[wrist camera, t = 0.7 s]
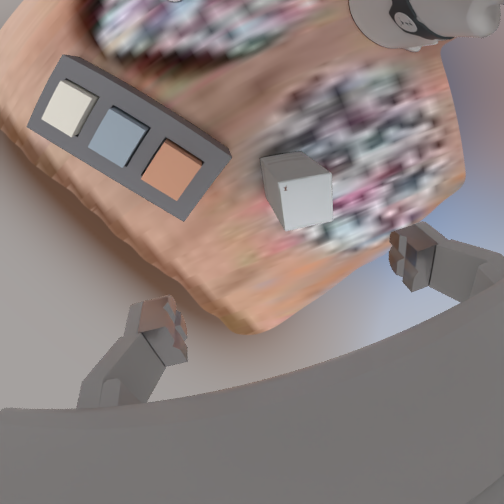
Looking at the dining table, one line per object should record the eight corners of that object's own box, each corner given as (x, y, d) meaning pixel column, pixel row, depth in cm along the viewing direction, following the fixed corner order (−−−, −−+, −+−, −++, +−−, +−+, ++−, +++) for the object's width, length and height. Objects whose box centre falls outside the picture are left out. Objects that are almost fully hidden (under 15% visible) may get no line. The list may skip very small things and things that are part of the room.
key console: (78, 56, 31) (62, 54, 26) (228, 148, 44) (232, 157, 39) (44, 120, 35) (26, 126, 30) (185, 206, 48) (184, 221, 43)
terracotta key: (168, 136, 38) (164, 142, 35) (201, 158, 41) (201, 166, 37) (146, 170, 40) (140, 179, 37) (179, 190, 43) (176, 201, 39)
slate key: (118, 106, 34) (109, 108, 31) (151, 126, 37) (145, 130, 33) (97, 141, 36) (87, 147, 33) (129, 160, 39) (122, 168, 35)
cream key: (72, 80, 31) (60, 80, 27) (102, 96, 33) (92, 98, 30) (54, 115, 33) (41, 119, 29) (82, 131, 35) (71, 137, 32)
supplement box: (265, 198, 50) (283, 233, 39) (258, 156, 46) (277, 181, 35) (306, 190, 50) (334, 222, 40) (302, 150, 46) (332, 172, 36)
